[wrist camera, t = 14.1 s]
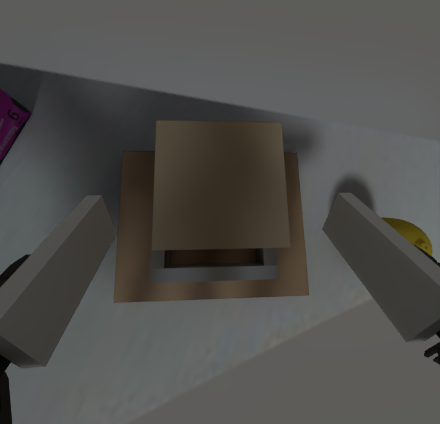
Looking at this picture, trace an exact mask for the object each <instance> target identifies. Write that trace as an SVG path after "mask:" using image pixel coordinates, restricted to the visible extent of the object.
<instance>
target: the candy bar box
mask: <svg viewBox="0 0 440 424" xmlns="http://www.w3.org/2000/svg"><path fill="white" fill-rule="evenodd" d="M30 114H31V112H30V111H29V110H27V109H26V108H25V107H24V106H22V105H21V104H20V103H18V102H17V101H16V100H14V99H13V98H12V97H10V96H9V95H8V94H6V93H5V92H4V91H2V90H1V89H0V163H1V161H2V159H3V158H4V156H5V154H6V153H7V151H8V150H9V148H10V146H11V145H12V143H13V141H14V140H15V138H16V137H17V135H18V134H19V132H20V130H21V129H22V127H23V126H24V124H25V122H26V121H27V119H28V118H29V116H30Z"/></svg>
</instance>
